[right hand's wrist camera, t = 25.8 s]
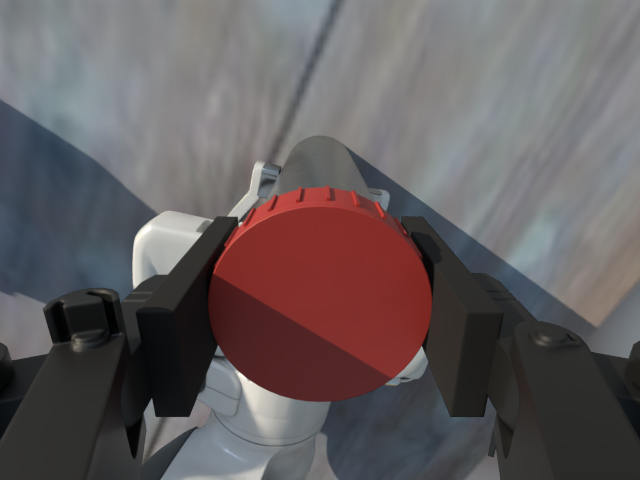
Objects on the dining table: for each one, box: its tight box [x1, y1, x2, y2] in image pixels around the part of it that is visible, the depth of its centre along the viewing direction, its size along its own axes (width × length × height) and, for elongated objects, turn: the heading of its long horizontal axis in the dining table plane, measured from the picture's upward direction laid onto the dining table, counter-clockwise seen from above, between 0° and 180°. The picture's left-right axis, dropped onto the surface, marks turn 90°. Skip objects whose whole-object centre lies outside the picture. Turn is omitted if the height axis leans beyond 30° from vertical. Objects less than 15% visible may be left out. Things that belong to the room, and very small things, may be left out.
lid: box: [208, 185, 432, 402], centre depth 11 cm, size 6×6×2 cm
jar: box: [264, 136, 375, 204], centre depth 20 cm, size 5×5×20 cm
